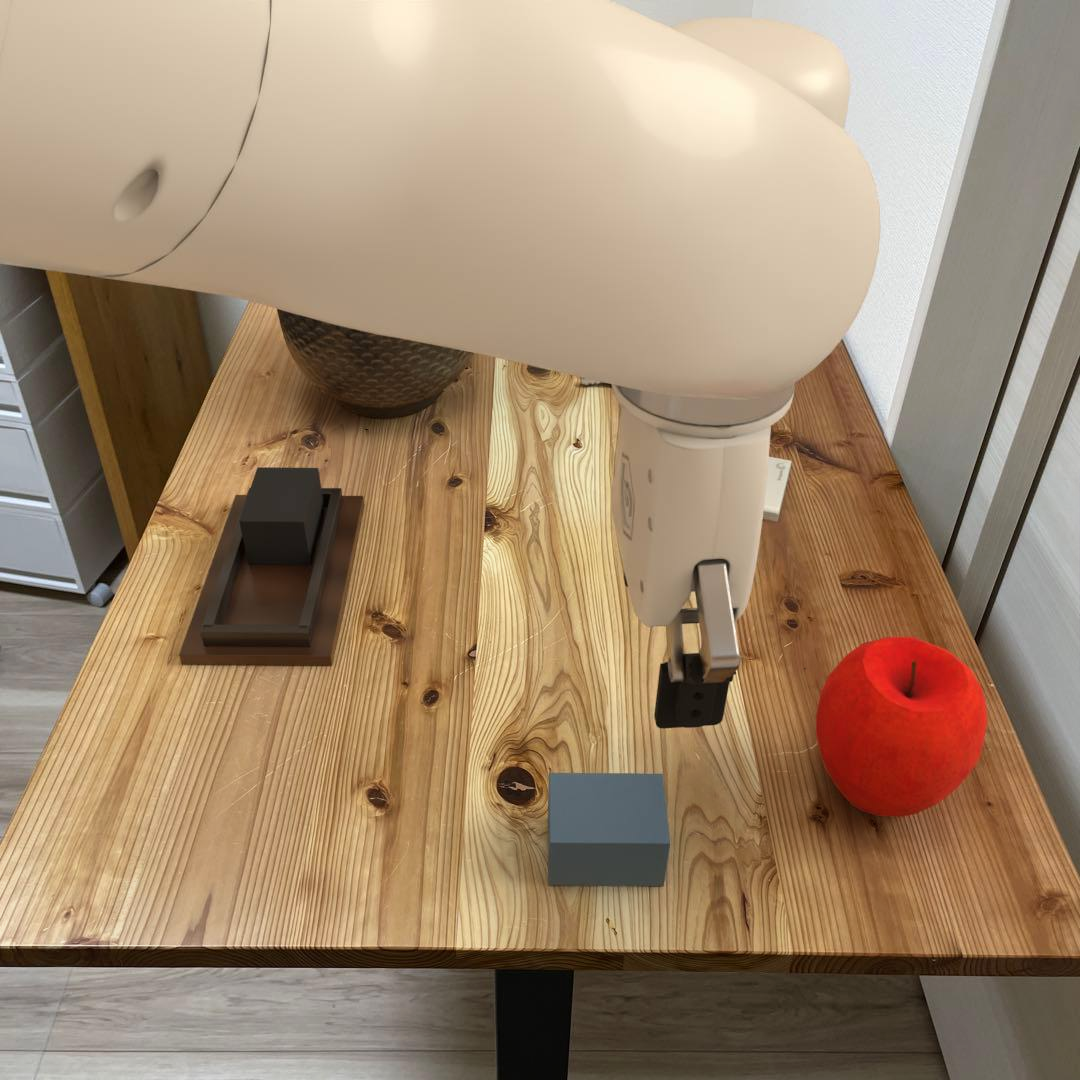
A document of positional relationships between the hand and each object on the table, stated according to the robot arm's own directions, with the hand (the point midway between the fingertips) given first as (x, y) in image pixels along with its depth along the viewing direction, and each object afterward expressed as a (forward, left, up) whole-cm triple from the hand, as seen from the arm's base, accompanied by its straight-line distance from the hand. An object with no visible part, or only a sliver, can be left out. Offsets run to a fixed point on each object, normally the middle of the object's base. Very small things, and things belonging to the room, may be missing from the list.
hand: (669, 648), depth 55 cm
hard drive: (+38, +9, -19) cm, 44 cm away
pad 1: (+13, +37, -17) cm, 43 cm away
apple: (+11, -12, -18) cm, 25 cm away
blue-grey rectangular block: (-1, +2, -18) cm, 18 cm away
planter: (+37, +43, -18) cm, 60 cm away
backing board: (+10, +36, -18) cm, 41 cm away
